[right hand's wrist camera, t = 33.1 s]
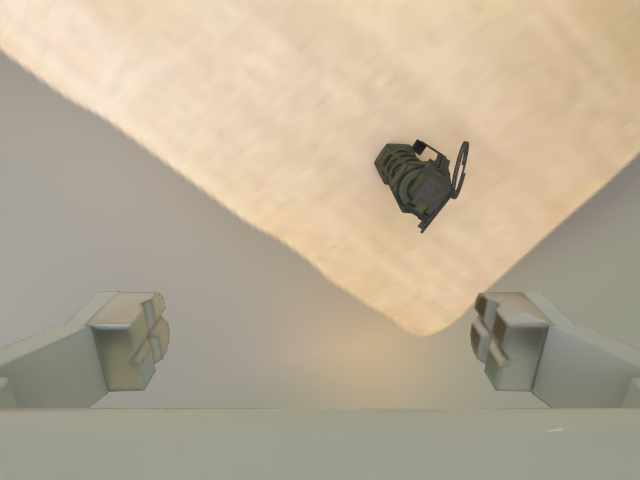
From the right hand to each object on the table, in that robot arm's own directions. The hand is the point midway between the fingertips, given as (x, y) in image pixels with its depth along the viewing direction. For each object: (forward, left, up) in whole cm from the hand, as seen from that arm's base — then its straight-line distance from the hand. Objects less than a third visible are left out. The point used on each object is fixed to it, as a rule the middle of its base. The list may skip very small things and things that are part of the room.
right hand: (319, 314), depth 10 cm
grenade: (-10, 0, -37) cm, 39 cm away
